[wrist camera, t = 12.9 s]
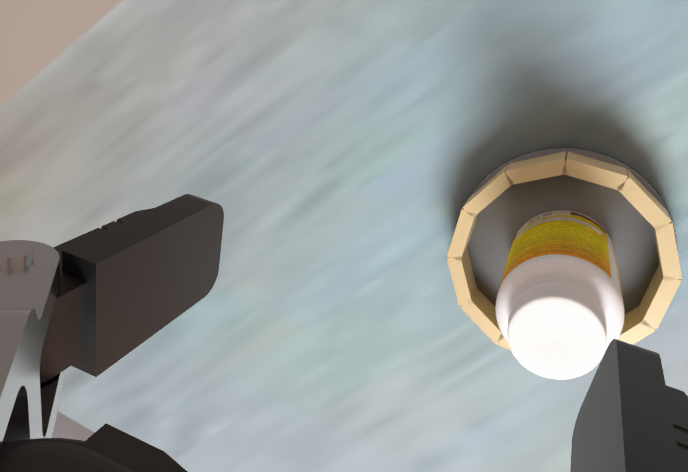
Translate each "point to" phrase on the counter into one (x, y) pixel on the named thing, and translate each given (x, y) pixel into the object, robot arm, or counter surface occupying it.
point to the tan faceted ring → (573, 195)
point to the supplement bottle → (560, 295)
